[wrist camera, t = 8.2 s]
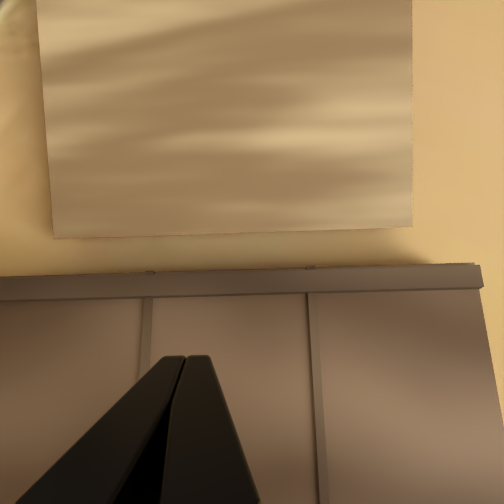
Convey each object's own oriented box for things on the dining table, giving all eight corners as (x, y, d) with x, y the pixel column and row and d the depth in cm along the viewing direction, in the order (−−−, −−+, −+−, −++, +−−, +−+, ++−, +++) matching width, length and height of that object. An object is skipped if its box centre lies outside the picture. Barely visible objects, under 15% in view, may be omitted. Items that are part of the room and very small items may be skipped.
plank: (412, 227, 17) (411, -230, 16) (53, 239, 18) (21, -202, 16) (397, 225, 19) (395, -180, 18) (75, 236, 20) (48, -156, 18)
